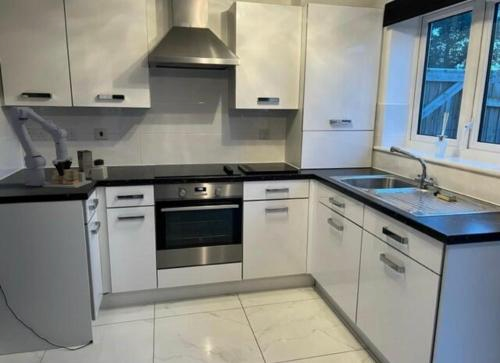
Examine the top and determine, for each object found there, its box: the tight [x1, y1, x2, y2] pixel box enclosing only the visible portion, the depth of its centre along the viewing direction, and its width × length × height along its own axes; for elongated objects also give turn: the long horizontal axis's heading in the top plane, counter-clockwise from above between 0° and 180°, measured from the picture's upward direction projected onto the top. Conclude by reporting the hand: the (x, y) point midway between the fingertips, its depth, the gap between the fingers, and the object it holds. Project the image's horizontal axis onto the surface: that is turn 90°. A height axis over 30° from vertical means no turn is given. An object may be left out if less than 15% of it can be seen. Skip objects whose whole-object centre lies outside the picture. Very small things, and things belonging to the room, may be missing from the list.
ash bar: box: [49, 168, 79, 180], centre depth 206 cm, size 14×4×5 cm, turn 80°
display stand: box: [42, 171, 92, 189], centre depth 209 cm, size 20×15×6 cm
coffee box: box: [76, 149, 94, 178], centre depth 233 cm, size 9×6×16 cm
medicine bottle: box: [91, 158, 109, 181], centre depth 224 cm, size 7×7×12 cm
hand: (64, 175), depth 206 cm, fingers open, 4 cm apart
